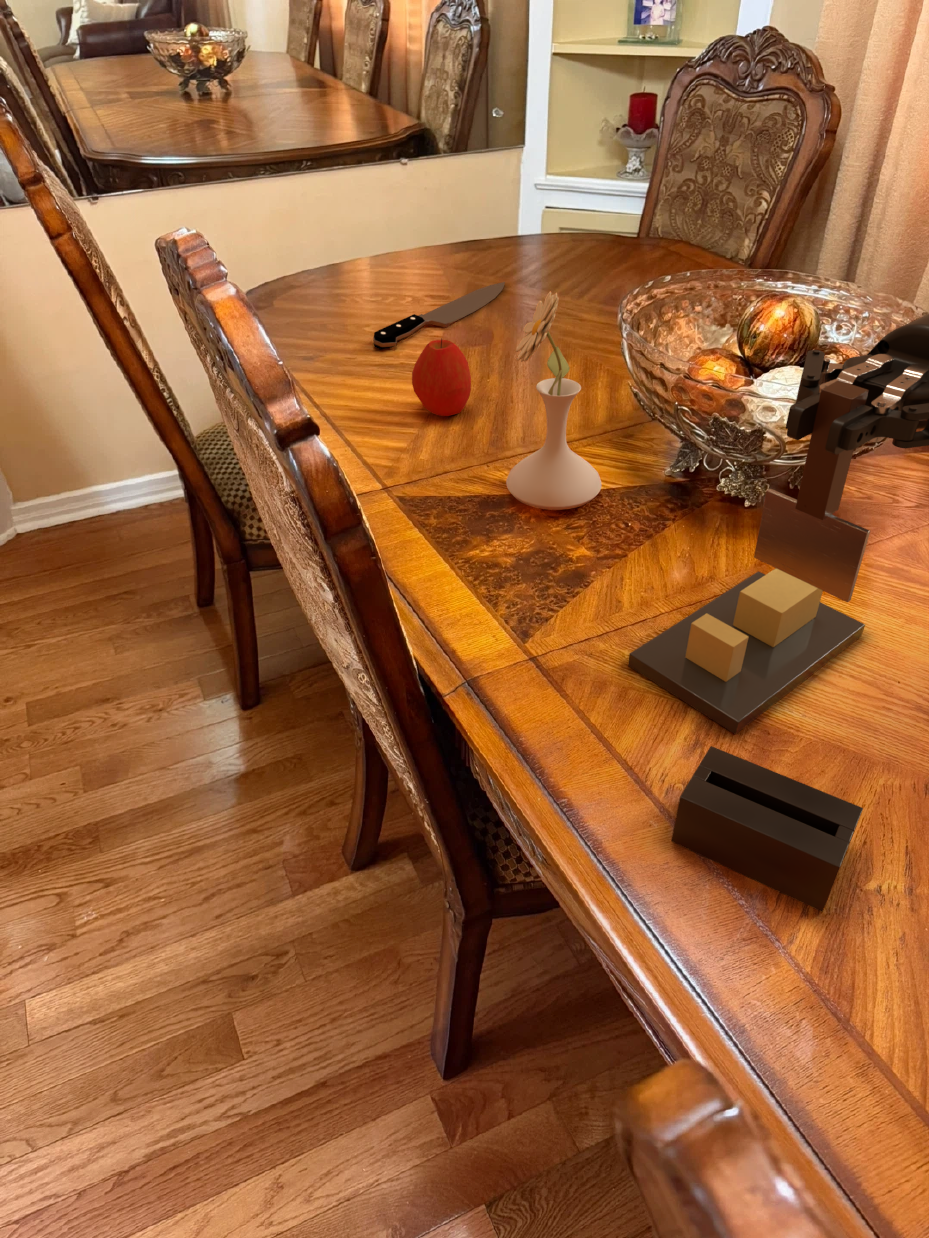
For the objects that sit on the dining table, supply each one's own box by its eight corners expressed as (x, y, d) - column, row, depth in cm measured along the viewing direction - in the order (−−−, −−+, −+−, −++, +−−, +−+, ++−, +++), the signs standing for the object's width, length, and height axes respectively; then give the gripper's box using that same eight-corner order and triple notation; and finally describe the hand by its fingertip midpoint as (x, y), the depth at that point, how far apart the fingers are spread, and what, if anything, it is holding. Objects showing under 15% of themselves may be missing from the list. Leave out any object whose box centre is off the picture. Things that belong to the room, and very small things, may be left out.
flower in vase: (524, 466, 114) (529, 263, 98) (611, 481, 110) (631, 274, 95) (487, 515, 104) (486, 300, 89) (581, 534, 100) (597, 313, 85)
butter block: (775, 596, 88) (783, 562, 86) (815, 617, 85) (825, 583, 83) (732, 625, 85) (739, 591, 82) (773, 647, 82) (782, 613, 79)
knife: (762, 551, 69) (799, 367, 60) (856, 596, 64) (912, 403, 55) (747, 561, 68) (782, 376, 59) (841, 607, 64) (895, 413, 54)
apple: (404, 418, 125) (399, 343, 119) (430, 396, 131) (427, 324, 125) (457, 428, 123) (455, 352, 116) (481, 405, 128) (481, 332, 122)
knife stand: (701, 789, 70) (710, 745, 67) (846, 852, 65) (863, 807, 62) (670, 841, 66) (679, 796, 63) (822, 912, 61) (840, 867, 58)
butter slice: (700, 647, 82) (706, 612, 80) (741, 671, 79) (749, 636, 77) (685, 657, 81) (691, 622, 78) (726, 682, 78) (733, 647, 76)
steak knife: (520, 290, 171) (522, 278, 170) (395, 356, 144) (395, 343, 143) (497, 283, 173) (498, 271, 172) (369, 347, 146) (369, 334, 145)
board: (755, 582, 93) (758, 570, 92) (861, 636, 85) (865, 624, 84) (627, 665, 82) (629, 653, 81) (735, 734, 75) (738, 722, 74)
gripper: (870, 290, 68) (732, 346, 59) (1063, 336, 59) (936, 410, 50) (846, 384, 72) (714, 449, 63) (1022, 440, 64) (899, 524, 55)
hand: (813, 431), depth 57 cm, fingers closed on knife, 2 cm apart
